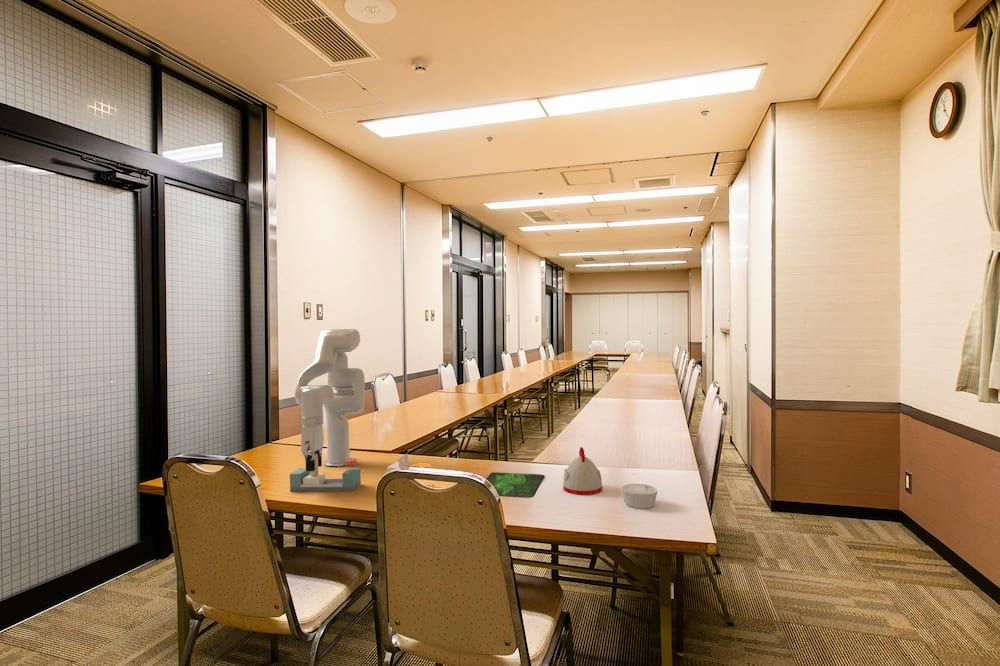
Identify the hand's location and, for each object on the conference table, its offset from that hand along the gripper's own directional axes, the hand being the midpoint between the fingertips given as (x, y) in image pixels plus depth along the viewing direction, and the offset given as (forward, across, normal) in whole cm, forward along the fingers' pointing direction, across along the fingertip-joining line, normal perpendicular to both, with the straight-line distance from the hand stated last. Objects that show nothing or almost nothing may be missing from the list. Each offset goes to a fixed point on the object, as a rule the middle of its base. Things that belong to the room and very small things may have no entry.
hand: (314, 468), depth 192 cm
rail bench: (+7, 0, +4) cm, 9 cm away
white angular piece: (+8, +11, +36) cm, 38 cm away
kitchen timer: (+8, +2, +100) cm, 101 cm away
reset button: (-1, 0, +15) cm, 15 cm away
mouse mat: (+8, -3, +74) cm, 75 cm away
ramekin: (+8, +18, +118) cm, 119 cm away
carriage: (+6, 0, 0) cm, 6 cm away
